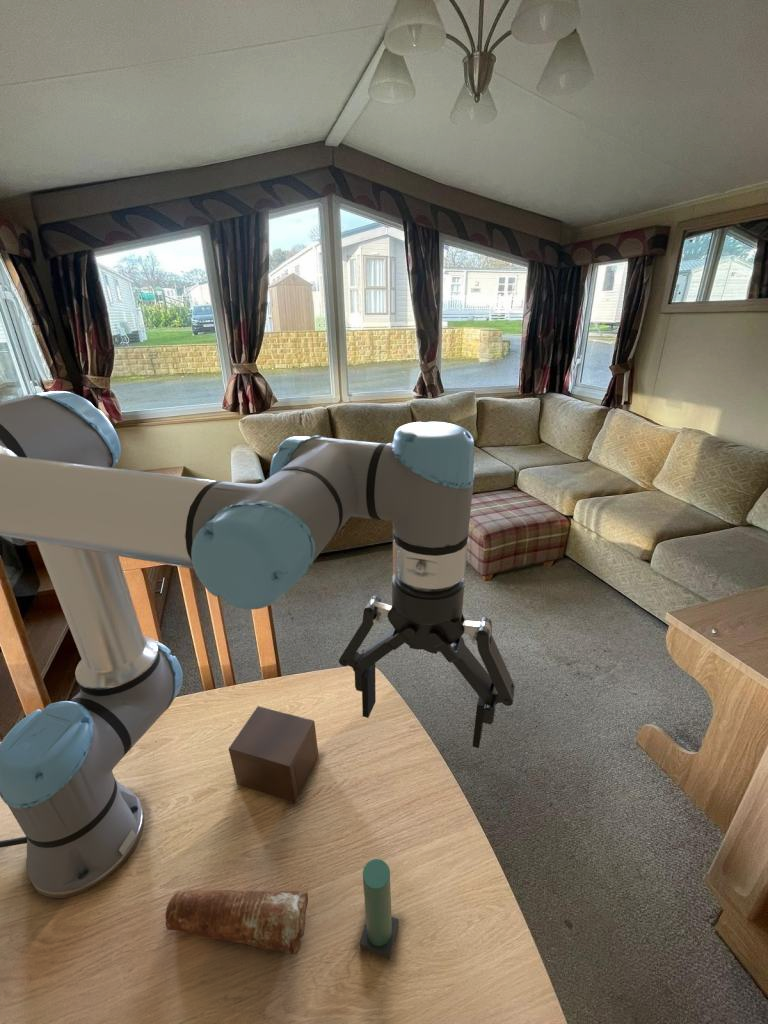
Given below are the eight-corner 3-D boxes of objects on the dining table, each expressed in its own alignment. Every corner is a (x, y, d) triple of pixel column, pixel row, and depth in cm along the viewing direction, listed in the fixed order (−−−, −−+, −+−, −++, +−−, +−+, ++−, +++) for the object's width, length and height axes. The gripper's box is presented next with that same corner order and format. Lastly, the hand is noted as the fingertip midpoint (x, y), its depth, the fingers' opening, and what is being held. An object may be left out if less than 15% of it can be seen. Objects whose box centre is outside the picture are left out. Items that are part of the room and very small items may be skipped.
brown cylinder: (302, 965, 60) (297, 942, 57) (160, 939, 63) (150, 916, 60) (316, 906, 65) (312, 883, 63) (185, 884, 68) (177, 861, 66)
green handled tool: (359, 947, 61) (354, 886, 55) (370, 912, 65) (365, 850, 59) (389, 959, 60) (387, 898, 54) (398, 922, 64) (397, 860, 57)
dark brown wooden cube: (237, 785, 81) (228, 748, 78) (264, 740, 89) (257, 705, 85) (295, 803, 78) (289, 766, 74) (318, 756, 86) (314, 720, 82)
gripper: (303, 571, 50) (315, 720, 59) (554, 618, 43) (525, 779, 52) (332, 540, 57) (339, 678, 66) (555, 576, 50) (529, 725, 58)
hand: (421, 723), depth 59 cm, fingers open, 13 cm apart
